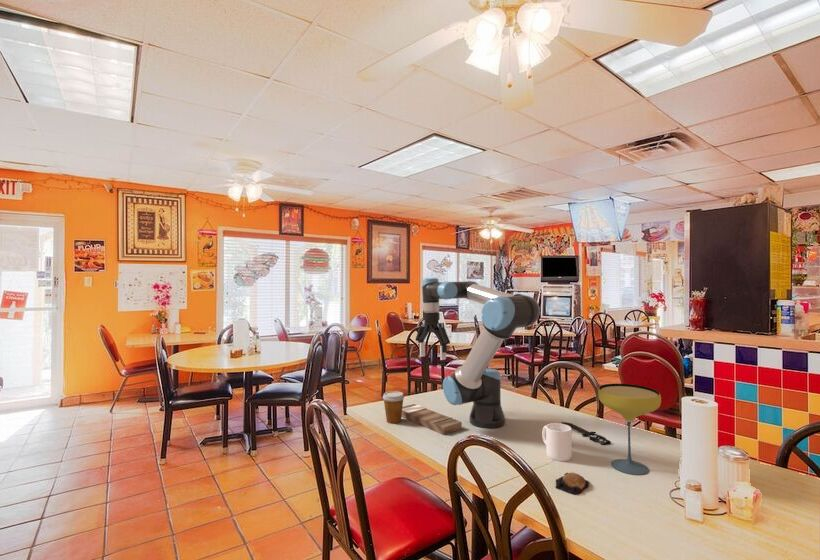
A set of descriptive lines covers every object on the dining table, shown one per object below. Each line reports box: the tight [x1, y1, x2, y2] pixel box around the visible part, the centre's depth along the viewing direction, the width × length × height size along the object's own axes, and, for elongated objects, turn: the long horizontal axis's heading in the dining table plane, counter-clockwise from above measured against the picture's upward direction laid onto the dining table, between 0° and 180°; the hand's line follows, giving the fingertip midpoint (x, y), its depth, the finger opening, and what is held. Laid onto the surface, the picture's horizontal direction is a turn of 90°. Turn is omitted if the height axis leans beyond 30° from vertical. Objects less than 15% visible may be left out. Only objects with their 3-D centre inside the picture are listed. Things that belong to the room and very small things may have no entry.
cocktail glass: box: [597, 383, 662, 476], centre depth 134 cm, size 18×18×25 cm
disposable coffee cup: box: [382, 390, 405, 424], centre depth 181 cm, size 10×10×12 cm
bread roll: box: [555, 472, 591, 496], centre depth 123 cm, size 11×8×4 cm
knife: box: [560, 421, 612, 446], centre depth 164 cm, size 25×6×1 cm, turn 13°
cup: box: [541, 422, 573, 462], centre depth 144 cm, size 8×12×10 cm
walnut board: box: [401, 403, 463, 436], centre depth 180 cm, size 32×10×3 cm, turn 37°
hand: (432, 358), depth 189 cm, fingers open, 13 cm apart
